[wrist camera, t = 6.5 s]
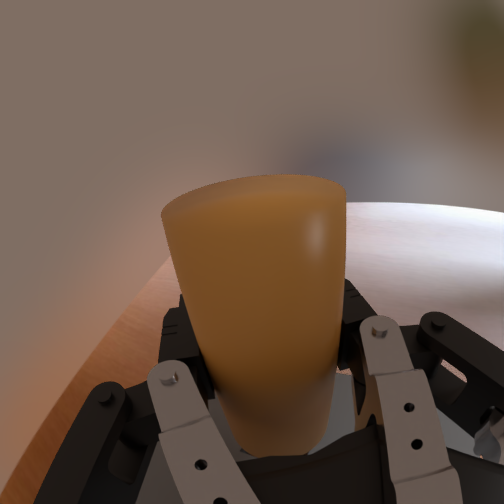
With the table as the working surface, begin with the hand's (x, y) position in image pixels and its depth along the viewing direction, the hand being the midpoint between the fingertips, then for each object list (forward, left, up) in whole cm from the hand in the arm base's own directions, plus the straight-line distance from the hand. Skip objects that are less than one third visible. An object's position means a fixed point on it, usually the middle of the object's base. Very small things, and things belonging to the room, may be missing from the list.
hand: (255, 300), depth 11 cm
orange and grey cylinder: (+2, +2, -9) cm, 9 cm away
